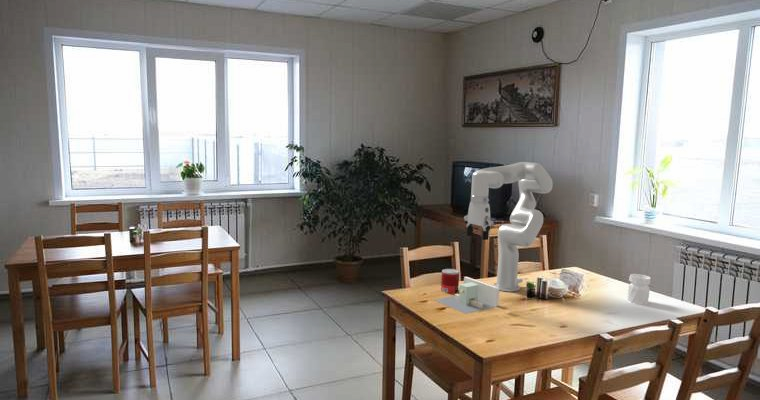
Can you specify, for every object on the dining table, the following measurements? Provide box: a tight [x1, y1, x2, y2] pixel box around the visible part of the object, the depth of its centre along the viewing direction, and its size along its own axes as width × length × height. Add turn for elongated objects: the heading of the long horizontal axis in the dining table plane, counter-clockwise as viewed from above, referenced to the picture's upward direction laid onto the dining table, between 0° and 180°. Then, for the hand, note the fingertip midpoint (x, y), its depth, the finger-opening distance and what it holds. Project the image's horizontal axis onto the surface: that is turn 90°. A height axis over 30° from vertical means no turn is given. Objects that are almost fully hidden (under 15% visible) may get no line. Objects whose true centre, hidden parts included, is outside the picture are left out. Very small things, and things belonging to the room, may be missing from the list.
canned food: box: [440, 268, 460, 294], centre depth 243 cm, size 8×8×11 cm
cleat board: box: [434, 276, 500, 315], centre depth 226 cm, size 19×20×10 cm
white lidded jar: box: [627, 273, 652, 306], centre depth 240 cm, size 9×9×12 cm
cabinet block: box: [458, 282, 479, 305], centre depth 227 cm, size 8×4×8 cm, turn 124°
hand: (477, 237), depth 234 cm, fingers open, 9 cm apart
